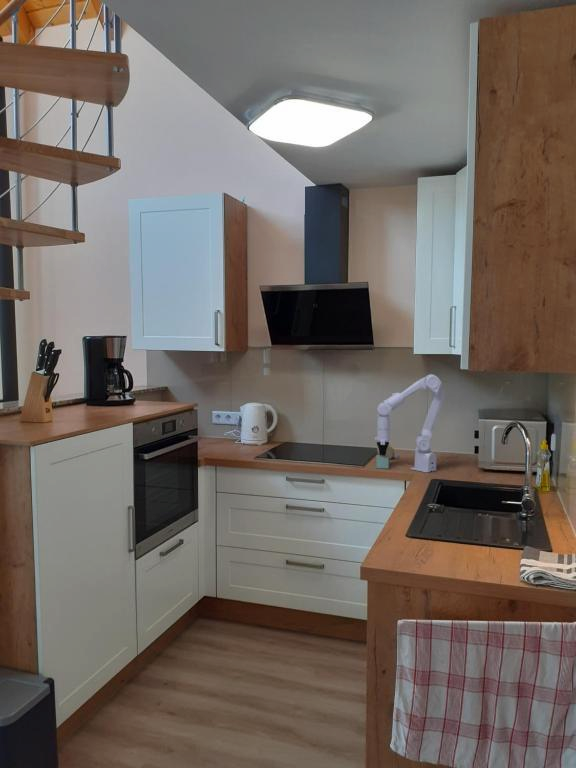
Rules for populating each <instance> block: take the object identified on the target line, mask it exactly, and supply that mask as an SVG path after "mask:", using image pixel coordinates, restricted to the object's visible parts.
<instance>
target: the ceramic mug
mask: <svg viewBox="0 0 576 768" xmlns="http://www.w3.org/2000/svg"><path fill="white" fill-rule="evenodd" d="M376 451H377V454H378V455H380V453H379V448H378V446H377V448H376ZM385 456H389V460H390V459H391V460H392V458H394V459H399V458H400V455H399V454H397V453H395V449H394V448H393V446H392V445H391V444H390V443H389V445H388V447H387V450H386V455H385Z"/></svg>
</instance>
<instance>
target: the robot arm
mask: <svg viewBox="0 0 576 768" xmlns="http://www.w3.org/2000/svg"><path fill="white" fill-rule="evenodd" d="M426 389H428V390H430V392H431V394H432V396H433V397H432V401H431V404H430V406H429V408H428V412H427V415H426V418H425V421H424V423H423V426H422V429H421V431H420V433H419V435H418V436H417V437H416V438H415V445H416V448H415V449H414V465H413V466H414V467H410V470H413V471H418V472H423V473H431V471H432V472H435V471H438V469H437V454H436V453H435V452H432V450H431V447H432V441H431V440H432V437H433V431H434V429H435V426H436V424H437V420H438V418H439V416H440V412H441V410H442V409H441V408H442V407H443V406H442V405H443V403H444V401H445V397H446V394H445V390H444V386H443V382H442V381H441V379H440V378H439V376H436V375H435V374H430V373H429V374H428V375H426V376H425V377H422V378H420V379H418V380H417V381H415V382H414V383H412V384H411V385H410V386H408V387H407V388H406V389H405V390H403V391H402V392H396V393H394V392H393V393H392V394H391V396H390V397H388V398H387V399H384V400H383V402H380V403H379V404H378V406H377V408H376V411H377V419H376V421H377V422H376V423H377V424H376V436H375V437H374V439H373V440H375V441H376V445H377V447H378V448H379V453H380V455H383V456H385V455H386V450H387V447H388V445H389V444H390V442H389V441H390V422H391V421H390V420H391V419H390V413H391V411H395V409H398V408H399V407H400V406H401V405H403V404H404V403H405V399H407V398H409V397H410V396H412V395H413V394H414V393H416V392H417V391H419V390H426ZM377 441H378V442H377Z"/></svg>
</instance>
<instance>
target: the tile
mask: <svg viewBox="0 0 576 768" xmlns="http://www.w3.org/2000/svg"><path fill="white" fill-rule="evenodd" d="M375 469H380V470H381V469H382V470H389V469H390V459H389V456H383V455H379V454H378V455H377V454H376V455H375Z"/></svg>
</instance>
